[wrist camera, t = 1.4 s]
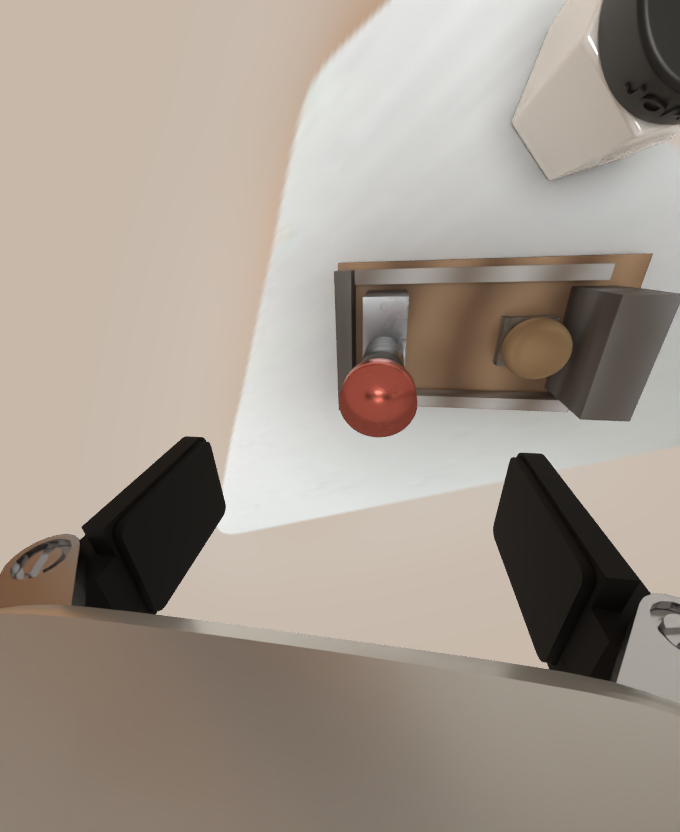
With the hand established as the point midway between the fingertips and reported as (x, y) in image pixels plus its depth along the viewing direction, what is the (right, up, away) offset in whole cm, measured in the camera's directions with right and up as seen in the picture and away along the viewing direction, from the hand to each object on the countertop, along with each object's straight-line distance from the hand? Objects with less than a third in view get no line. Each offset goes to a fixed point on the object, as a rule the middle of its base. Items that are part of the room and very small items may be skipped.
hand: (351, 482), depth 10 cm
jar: (+15, +22, +10) cm, 29 cm away
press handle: (+4, +9, +17) cm, 19 cm away
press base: (+11, +9, +17) cm, 22 cm away
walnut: (+14, +7, +13) cm, 20 cm away
